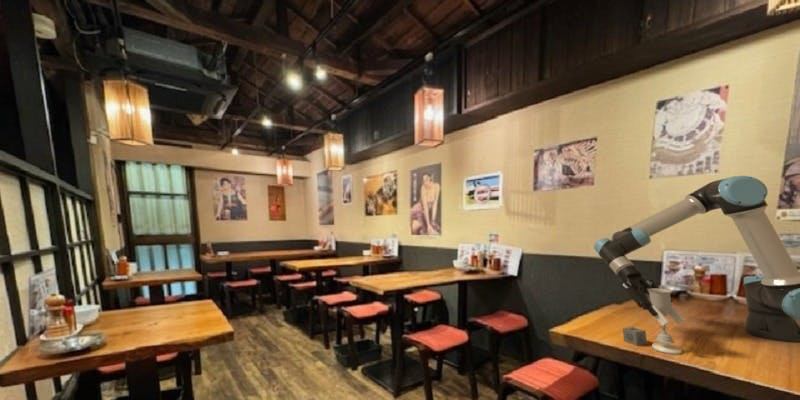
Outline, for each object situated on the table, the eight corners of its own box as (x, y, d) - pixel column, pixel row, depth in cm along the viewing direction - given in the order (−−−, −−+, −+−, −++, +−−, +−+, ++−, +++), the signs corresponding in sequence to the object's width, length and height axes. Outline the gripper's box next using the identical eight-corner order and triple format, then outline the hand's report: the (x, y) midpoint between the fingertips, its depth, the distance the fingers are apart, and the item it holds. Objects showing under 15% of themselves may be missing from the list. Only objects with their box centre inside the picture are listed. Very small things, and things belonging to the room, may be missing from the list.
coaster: (676, 347, 109) (675, 344, 109) (686, 356, 102) (686, 353, 102) (649, 344, 112) (648, 341, 112) (657, 352, 105) (656, 350, 105)
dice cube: (633, 339, 118) (632, 326, 118) (647, 344, 113) (645, 330, 113) (624, 341, 116) (622, 328, 117) (637, 346, 111) (635, 332, 112)
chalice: (671, 345, 103) (664, 293, 105) (648, 339, 109) (642, 289, 111) (682, 342, 106) (676, 290, 108) (659, 336, 112) (654, 287, 114)
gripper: (638, 274, 126) (687, 325, 109) (601, 277, 123) (644, 330, 105) (649, 263, 122) (702, 314, 104) (611, 265, 118) (658, 319, 100)
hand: (673, 322), depth 105 cm, fingers closed on chalice, 6 cm apart
